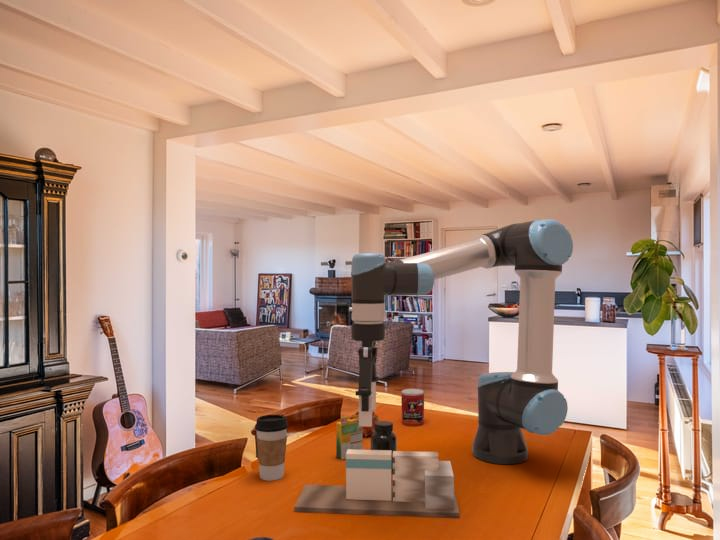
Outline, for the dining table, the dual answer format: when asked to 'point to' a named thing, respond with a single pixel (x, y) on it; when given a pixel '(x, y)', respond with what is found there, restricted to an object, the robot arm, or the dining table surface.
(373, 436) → the supplement bottle
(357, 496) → the blue-striped white box
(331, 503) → the stepped block stand
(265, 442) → the coffee cup
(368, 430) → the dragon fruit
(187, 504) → the dining table surface
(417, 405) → the canned food
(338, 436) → the crayon box
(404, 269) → the robot arm
